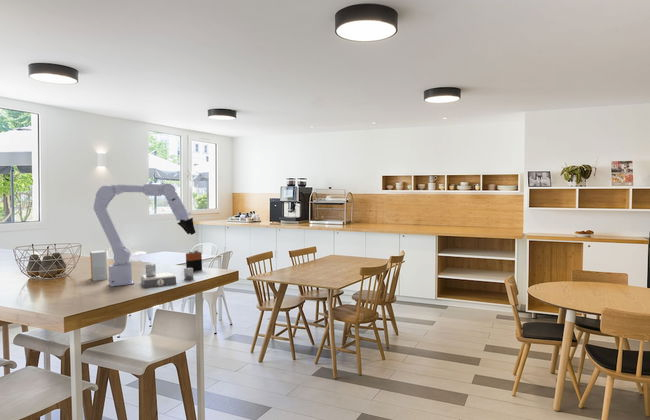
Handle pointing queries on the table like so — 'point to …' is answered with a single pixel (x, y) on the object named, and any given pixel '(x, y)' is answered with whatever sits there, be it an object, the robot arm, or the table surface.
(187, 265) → the battery
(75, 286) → the table surface
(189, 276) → the steel spacer
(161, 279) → the kitchen scale
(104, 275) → the small box
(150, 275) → the block
